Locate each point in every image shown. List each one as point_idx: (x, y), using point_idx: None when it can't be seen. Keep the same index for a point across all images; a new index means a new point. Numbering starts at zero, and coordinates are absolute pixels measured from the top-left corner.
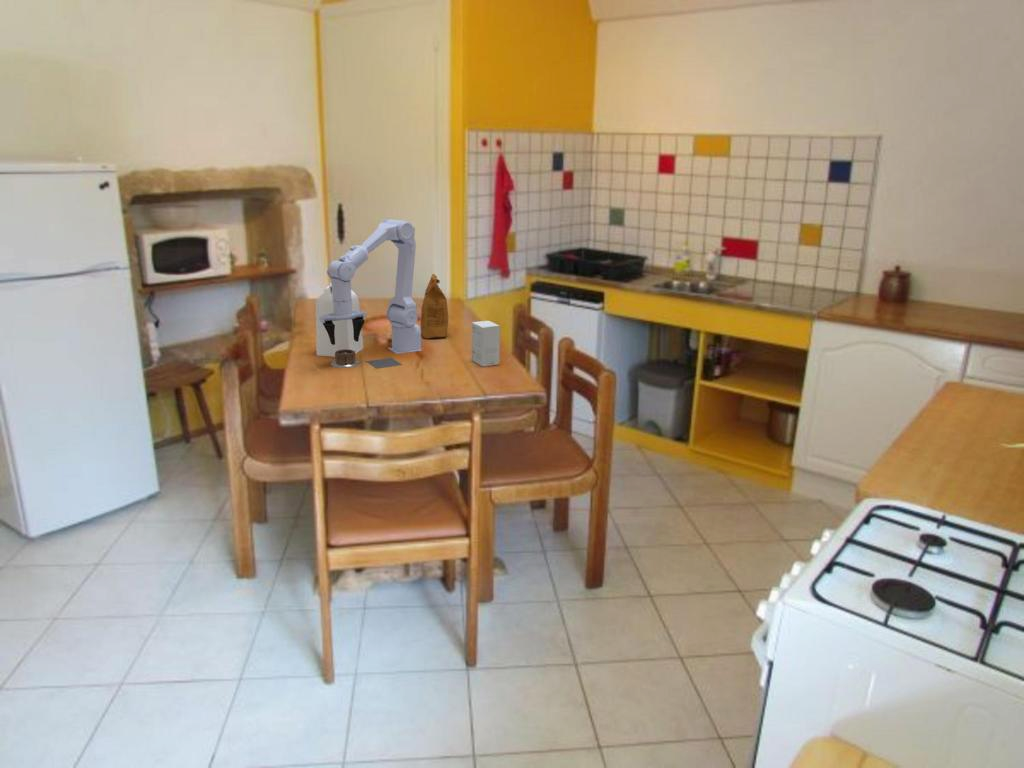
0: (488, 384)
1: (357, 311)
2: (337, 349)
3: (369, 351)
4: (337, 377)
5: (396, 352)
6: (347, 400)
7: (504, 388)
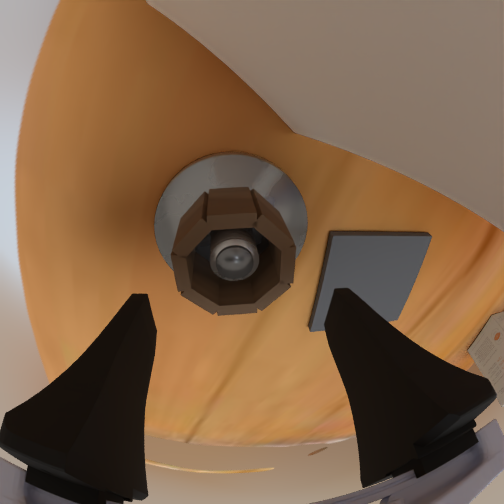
0: None
1: (480, 489)
2: (252, 74)
3: None
4: None
5: None
6: (156, 428)
7: None
